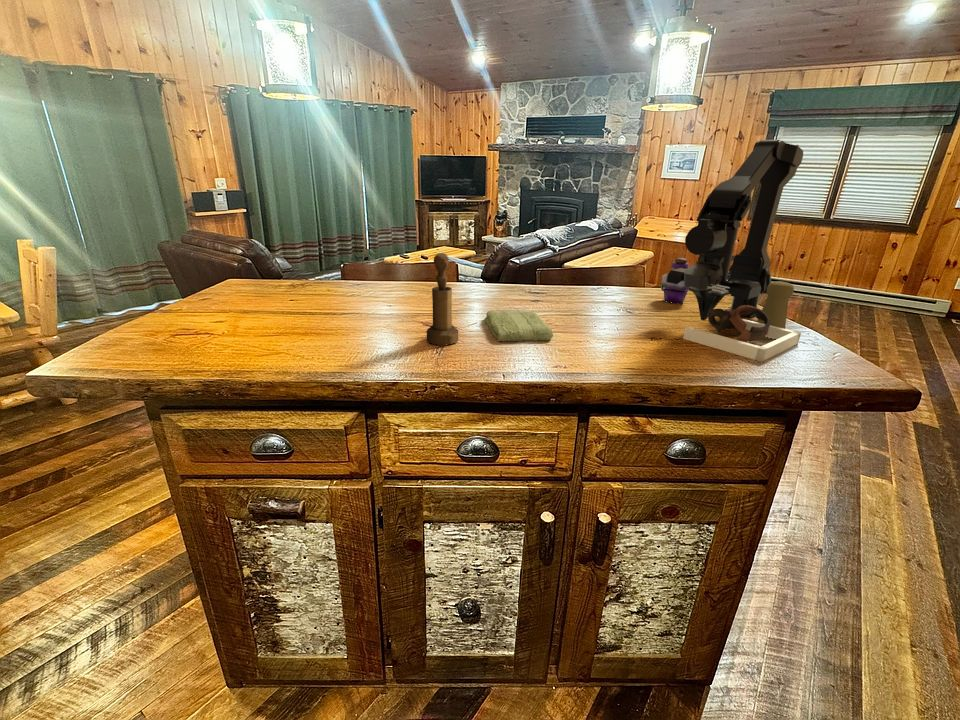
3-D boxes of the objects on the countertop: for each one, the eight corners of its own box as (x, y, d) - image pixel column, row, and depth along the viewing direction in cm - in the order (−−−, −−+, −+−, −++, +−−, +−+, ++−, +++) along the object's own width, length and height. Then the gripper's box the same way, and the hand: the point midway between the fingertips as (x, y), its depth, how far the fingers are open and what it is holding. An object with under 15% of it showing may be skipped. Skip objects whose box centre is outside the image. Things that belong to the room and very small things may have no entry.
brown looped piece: (754, 334, 107) (775, 309, 100) (752, 364, 101) (774, 339, 94) (701, 316, 109) (719, 290, 102) (696, 344, 103) (714, 318, 97)
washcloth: (535, 318, 115) (536, 306, 114) (555, 343, 99) (556, 329, 98) (482, 320, 113) (482, 307, 112) (494, 345, 97) (494, 330, 96)
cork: (789, 333, 106) (802, 286, 102) (760, 331, 107) (772, 284, 103) (779, 325, 112) (791, 280, 107) (751, 323, 113) (762, 278, 108)
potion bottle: (654, 296, 136) (661, 255, 131) (685, 298, 135) (693, 256, 130) (661, 304, 128) (668, 260, 123) (694, 306, 127) (702, 261, 122)
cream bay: (722, 324, 112) (724, 314, 111) (797, 343, 100) (801, 332, 99) (683, 338, 102) (685, 327, 101) (761, 361, 90) (764, 349, 89)
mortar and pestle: (462, 337, 100) (463, 252, 93) (451, 347, 94) (450, 257, 87) (434, 334, 102) (432, 250, 95) (421, 343, 96) (418, 255, 89)
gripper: (657, 247, 102) (646, 315, 108) (744, 260, 89) (726, 338, 95) (685, 243, 109) (673, 308, 115) (770, 255, 95) (752, 328, 101)
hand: (703, 320), depth 106 cm, fingers closed
